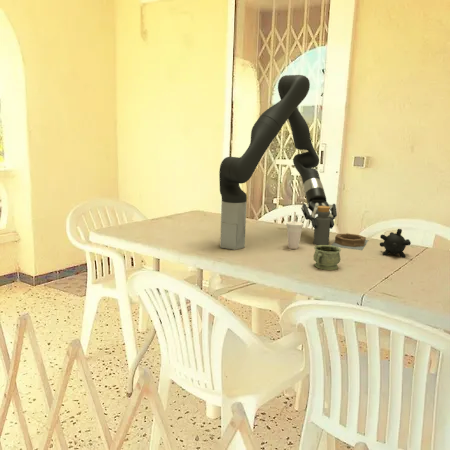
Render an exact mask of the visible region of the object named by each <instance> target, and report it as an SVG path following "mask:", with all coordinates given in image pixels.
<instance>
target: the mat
mask: <svg viewBox="0 0 450 450" xmlns="http://www.w3.org/2000/svg"><path fill="white" fill-rule="evenodd" d="M368 242H369V240H368V239H366V240H365V245H364V246H359V247H350V246H343V245H340V244H337V243H335V240H334V241H333V243H332V244H330V245H331V246H336V247H339V248H340V249H349V250H358V251H363V250H364V249H365V247H366V245H367V244H368Z"/></svg>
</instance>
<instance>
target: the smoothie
mask: <svg viewBox="0 0 450 450" xmlns="http://www.w3.org/2000/svg"><path fill="white" fill-rule="evenodd" d="M296 217H297V215H296V211H293V221H287V222H285V226H286V232H287V234H286V235H287V248H288V249H291V250H294V251H295V250H296V249H297V250H298V249H299V247H300V242H301V237H302V231H303V227H304V223H303V222H301V221H296Z"/></svg>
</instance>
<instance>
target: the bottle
mask: <svg viewBox="0 0 450 450" xmlns="http://www.w3.org/2000/svg"><path fill="white" fill-rule="evenodd" d="M329 211H330V207H328V206H318V211H317V214H316V215H317V216H315V218H316V221H317V224H318V227H317V228H316V229H314V228H313V229H314V230H313V232H314V233H313V242H312V243H313V245H315V246H318V245H329V243H330V233H331V231H330V230H331V229H330V218H329V217H328V215H330V213H331V211H330V212H329Z"/></svg>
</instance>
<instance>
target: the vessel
mask: <svg viewBox="0 0 450 450" xmlns="http://www.w3.org/2000/svg"><path fill="white" fill-rule="evenodd" d="M331 245H332V244H330V245H315V246H314V250H315V251H314V254H313V261H314V262H315V264H314V267H316V268H318V269H321V270H327V271H328V270H329V271H333V270H337V269H338V268H339V265H338V264H340V263H341V254H340V253H341V251H342V248H340V247H336V246H331Z"/></svg>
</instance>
